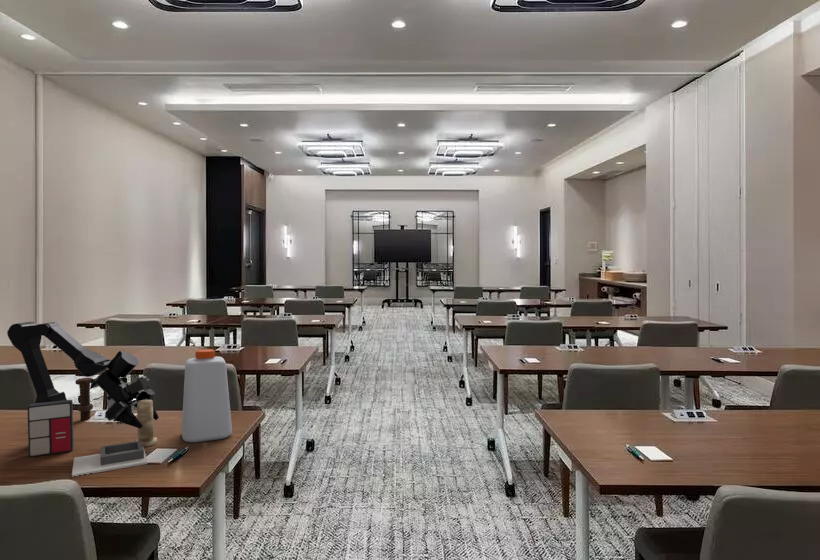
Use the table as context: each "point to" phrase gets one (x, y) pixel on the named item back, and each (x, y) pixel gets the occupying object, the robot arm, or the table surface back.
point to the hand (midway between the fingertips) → (149, 422)
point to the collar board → (111, 458)
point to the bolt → (84, 398)
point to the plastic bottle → (206, 398)
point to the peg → (146, 423)
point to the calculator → (50, 427)
